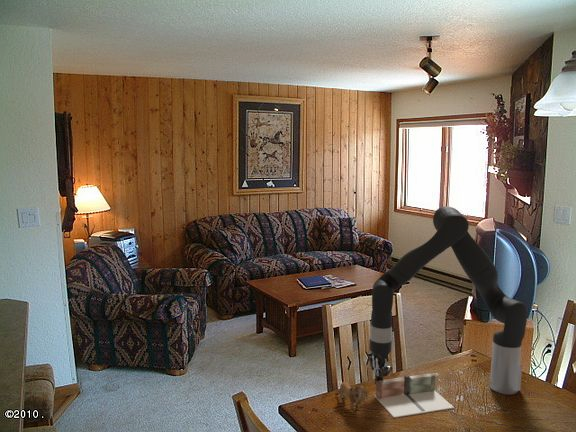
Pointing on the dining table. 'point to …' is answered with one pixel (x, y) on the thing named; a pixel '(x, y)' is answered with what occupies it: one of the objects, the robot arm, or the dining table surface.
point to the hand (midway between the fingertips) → (378, 384)
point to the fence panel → (389, 387)
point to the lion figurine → (352, 394)
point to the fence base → (419, 383)
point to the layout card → (414, 403)
